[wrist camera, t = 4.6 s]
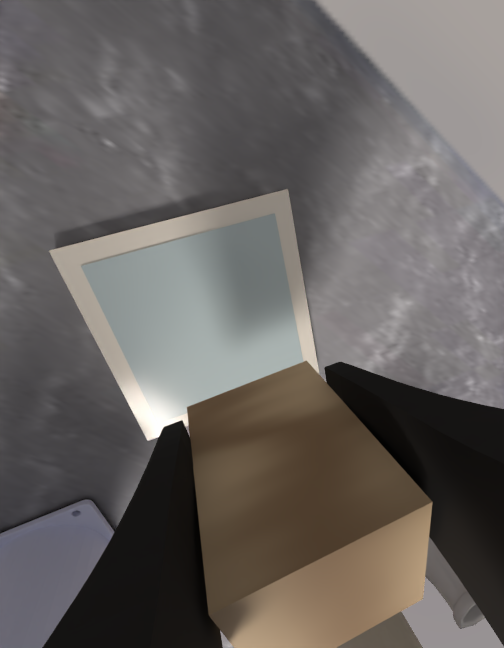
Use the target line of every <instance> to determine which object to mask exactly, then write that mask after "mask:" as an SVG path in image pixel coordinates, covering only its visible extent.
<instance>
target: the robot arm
mask: <svg viewBox="0 0 504 648" xmlns="http://www.w3.org/2000/svg"><path fill="white" fill-rule="evenodd" d="M325 374H326V381H327V384H328V385H329V386H330V387H331V388H332V390H333V391H334V392H335V393H336V394H337V395H338V396H339V397H340V399H341V400H342V401H343V402H344V403H345V404H346V405H347V406H348V408H349V409H350V410H351V411H352V412H353V413H354V414H355V415H356V417H357V418H358V419H359V420H360V421H361V422H362V423H363V424H364V426H365V427H366V428H367V429H368V430H369V431H370V432H371V433H372V434H373V436H374V437H375V438H376V439H377V440H378V441H379V442H380V443H381V445H382V446H383V447H384V448H385V449H386V450H387V451H388V452H389V454H390V455H391V456H392V457H393V458H394V459H395V460H396V461H397V463H398V464H399V465H400V466H401V467H402V468H403V469H404V470H405V472H406V473H407V474H408V475H409V476H410V477H411V478H412V479H413V481H414V482H415V483H416V484H417V485H418V486H419V487H420V488H421V490H422V491H423V492H424V493H425V494H426V495H427V496H428V497H429V499H430V500H431V501H432V512H431V522H430V532H429V537H430V538H431V540H432V541H433V543H434V544H435V545H436V547H437V548H438V550H439V551H440V553H441V554H442V555H443V557H444V558H445V560H446V561H447V562H448V564H449V565H450V567H451V568H452V570H453V571H454V572H455V574H456V575H457V577H458V578H459V580H460V581H461V583H462V584H463V586H464V587H465V589H466V590H467V591H468V593H469V594H470V596H471V597H472V599H473V600H474V602H475V603H476V605H477V606H478V608H479V609H480V611H481V612H482V614H483V615H484V617H485V618H486V620H487V621H488V623H489V624H490V625H491V627H492V628H493V630H494V632H495V633H496V635H497V636H498V638H499V639H500V641H501V642H502V644H503V645H504V409H500V408H495V407H490V406H485V405H481V404H476V403H472V402H468V401H463V400H459V399H455V398H451V397H447V396H443V395H439V394H436V393H432V392H429V391H426V390H422V389H419V388H415V387H412V386H409V385H406V384H403V383H400V382H397V381H394V380H391V379H388V378H385V377H382V376H380V375H377V374H374V373H371V372H369V371H366V370H363V369H360V368H357V367H355V366H352V365H349V364H346V363H343V362H338V363H335V364H332V365H330V366H327V367H325ZM76 510H77V511H76ZM0 648H223V647H222V641H221V634H220V629H219V628H218V626H217V625H216V624H215V623H214V621H213V620H212V619H211V618H210V616H209V614H208V604H207V595H206V585H205V576H204V566H203V557H202V547H201V538H200V528H199V518H198V509H197V499H196V490H195V480H194V471H193V457H192V448H191V440H190V437H189V435H188V432H187V430H186V428H185V425H184V423H183V420H181V421H178V422H176V423H173V424H170V425H167V426H165V427H163V429H162V431H161V433H160V436H159V438H158V441H157V443H156V446H155V448H154V451H153V453H152V455H151V458H150V460H149V462H148V465H147V467H146V469H145V471H144V474H143V476H142V478H141V480H140V483H139V485H138V487H137V489H136V491H135V493H134V495H133V497H132V499H131V501H130V503H129V505H128V507H127V509H126V511H125V513H124V515H123V517H122V519H121V521H120V523H119V525H118V527H117V529H116V530H115V532H114V531H113V529H112V528H111V526H110V525H109V524H108V522H107V521H106V519H105V518H104V516H103V515H102V514H101V512H100V511H99V509H98V508H97V507H96V505H95V504H94V502H93V501H91V500H82V501H80V502H77V503H75V504H72V505H70V506H67V507H65V508H62V509H60V510H57V511H55V512H52V513H50V514H47V515H45V516H42V517H40V518H37V519H35V520H32V521H30V522H28V523H25V524H23V525H20V526H18V527H15V528H13V529H10V530H8V531H5V532H3V533H0Z"/></svg>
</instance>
